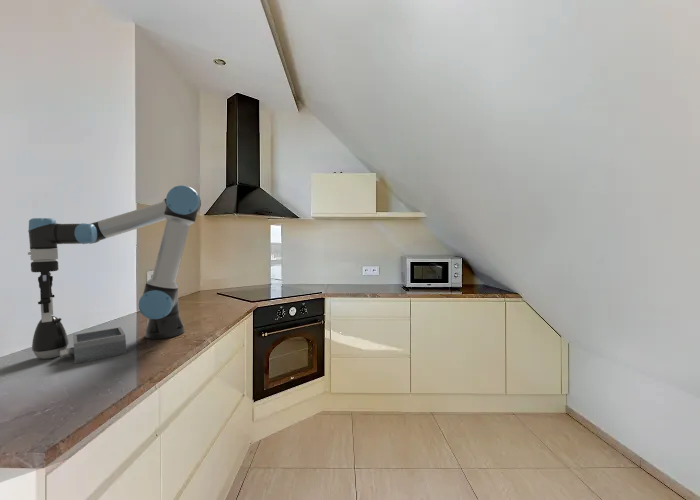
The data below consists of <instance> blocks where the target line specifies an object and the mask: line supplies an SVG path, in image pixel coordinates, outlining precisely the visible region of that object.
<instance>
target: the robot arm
mask: <svg viewBox="0 0 700 500" xmlns="http://www.w3.org/2000/svg"><path fill="white" fill-rule="evenodd" d="M201 207H202V200H201V197H200V195H199V193H198V192H197V191H196V190H195V189H194V188H192V187H190V186H188V185H184V184H183V185H177V186H174V187H172V188H171V189H170V190H169V191H168V192H167V194H166V197H165V198H164V199H162V202H158V203H155V204H152V205H148V206H144V207H141V208H138V209H135V210H131V211H127V212H125V213H121V214H118V215H114V216H111V217H108V218H105V219H102V220H97V221H94V222H92V223H83V222H82V223H57V221H56V219H55V218H51V217H49V218H47V217H44V218H43V217H39V218H38V217H37V218H36V217H35V218H30V219H29V220H28V231H27V232H28V239H29V249H30V250H29V251H28V252H27V255H28V256H29V257H30V260H31V263H30V271H31V272H32V273H40V275H39V276H38V277H37V282H38V288H39V291H40V297H39V298H40V301H37V305H40V315H41V316H40V317H41V319H42V322H50V321H52V316H54V305H53V298H55V294H53V291H52V287H53V281H54V280H53V279H54V277H53V275H51V274H52V273H51V272H56V271H59V261H58V260H59V253H58V249H59V248H58V245H69V244H70V245H78V244H82V245H86V244H88V245H91V244H96V243H98V242H101V241H102V240H106V239H108V238H112V237H115V236H118V235H122V234H124V233H128V232H131V231H133V230H137V229H141V228H143V227H148V226H150V225H153V224H157V223H159V222H163V221H166V223H165V225H164V226H165V227H164V230H163V234H162V237H161V240H160V241H161V242H160V246H159V249H158V253H157V256H156V260H155V265H154V268H153V272H152V275H151V278H150V279H149V280H147V281H146V283H145V285H144V289H143V293H142V295H141V297H140V298H139V300H138V310H139V312H140V313H141V315H142V316H144V317H145V318H147V319H148V322H147V325H146V329H145V338H146V339H149V340H161V339H162V340H163V339H169V338H172V337H177V336H180V335H182V334H184V333H185V325H184V323H183V321H182V319H181V317H180V308H179V307H180V305H179V286H178V283H177V282H176V281H177V280H176V279H177V277H178V273H179V268H180V265H181V260H182V256H183V253H184V249H185V245H186V242H187V238H188V234H189V230H190V226H192V225H193V224H195V223H196V220H197V216H198V212H200V209H201Z"/></svg>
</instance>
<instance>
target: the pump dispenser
mask: <svg viewBox="0 0 700 500" xmlns="http://www.w3.org/2000/svg"><path fill="white" fill-rule="evenodd" d="M61 321H62V318H61V317H59V318H58V317H57V316H55V315H52V321H50V322H42V318H41V319H40V320H39V321H38V323H37V325H36V327H35V330H34V333H33V337H32V342H31V343H32V344H31V351H32V352H33V354H34V355H35V357H37V358H39V359H42V360H43V359H44V360H48V359H53V358H57V357H60V352H59V350H62V349H67V348H68V346H69V341H70V340H69V337H68V334H67V331H66V329H65V327H64V325H63V323H62V322H61Z"/></svg>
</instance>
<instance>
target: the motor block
mask: <svg viewBox="0 0 700 500" xmlns="http://www.w3.org/2000/svg"><path fill="white" fill-rule="evenodd" d="M72 336H73V337H72V338H73V341H72V343H73V347H67V349H62V350H59V352H60V356H59V359H65V358H69V357H74V364H82V363H85V362H91V361H96V360H99V359H100V360H101V359H105V358H110V357H114V356H119V355H124V354H127V353H128V352H127V341H126V340H127V339H126V333H125V332H124V330H123V328H122V327H121V326H119V327H113V328H106V329H101V330H94V331H88V332H83V333H76V334H72Z"/></svg>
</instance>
